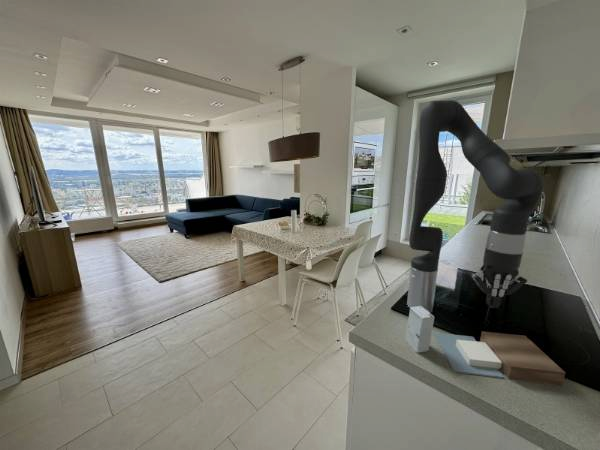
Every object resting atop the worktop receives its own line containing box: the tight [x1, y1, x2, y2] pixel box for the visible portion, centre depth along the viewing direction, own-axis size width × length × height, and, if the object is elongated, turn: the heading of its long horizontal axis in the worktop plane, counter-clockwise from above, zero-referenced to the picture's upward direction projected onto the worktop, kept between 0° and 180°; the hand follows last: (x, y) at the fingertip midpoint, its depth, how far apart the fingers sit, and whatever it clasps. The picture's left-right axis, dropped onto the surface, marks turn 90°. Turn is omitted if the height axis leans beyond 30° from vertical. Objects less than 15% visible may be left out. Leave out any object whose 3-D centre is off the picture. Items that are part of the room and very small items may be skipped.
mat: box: [433, 332, 505, 379], centre depth 72 cm, size 16×12×1 cm
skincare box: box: [405, 306, 435, 353], centre depth 74 cm, size 6×4×12 cm
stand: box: [479, 331, 566, 387], centre depth 68 cm, size 14×12×4 cm
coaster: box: [456, 340, 502, 370], centre depth 70 cm, size 8×8×2 cm
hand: (492, 306), depth 67 cm, fingers closed
